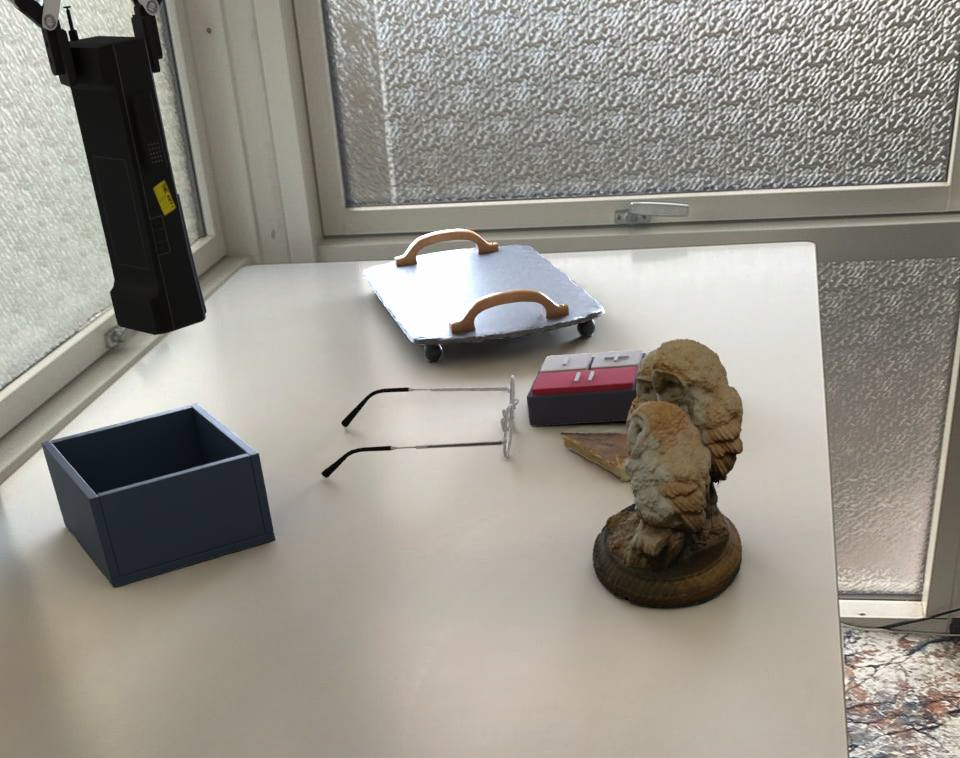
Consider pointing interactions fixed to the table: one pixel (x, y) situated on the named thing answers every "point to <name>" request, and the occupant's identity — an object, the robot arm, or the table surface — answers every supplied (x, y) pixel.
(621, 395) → the red gray box
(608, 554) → the owl figurine
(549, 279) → the serving tray
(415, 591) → the table surface
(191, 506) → the bin
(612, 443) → the shard
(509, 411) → the eyeglasses
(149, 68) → the portable radio
